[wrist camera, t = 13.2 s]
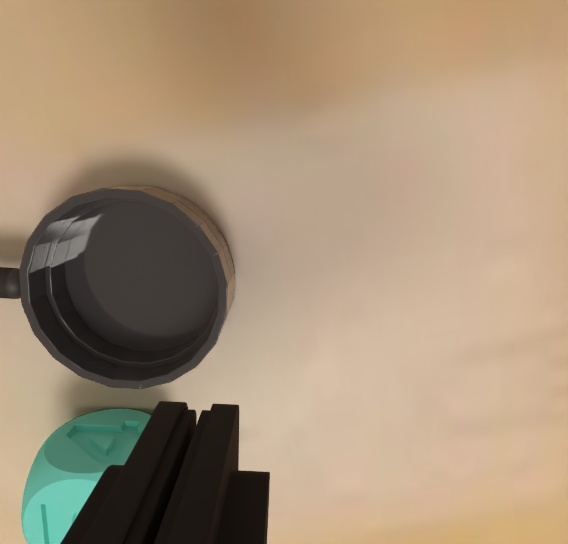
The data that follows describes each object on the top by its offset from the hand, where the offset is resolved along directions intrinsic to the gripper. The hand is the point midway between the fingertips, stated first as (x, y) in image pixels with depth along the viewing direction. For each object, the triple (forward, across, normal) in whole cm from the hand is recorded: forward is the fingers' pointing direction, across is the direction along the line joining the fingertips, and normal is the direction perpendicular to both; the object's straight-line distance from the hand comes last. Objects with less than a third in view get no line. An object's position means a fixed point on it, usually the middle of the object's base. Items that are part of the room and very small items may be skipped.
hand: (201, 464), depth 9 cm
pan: (+23, +9, +2) cm, 25 cm away
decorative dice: (+23, +11, +17) cm, 31 cm away
